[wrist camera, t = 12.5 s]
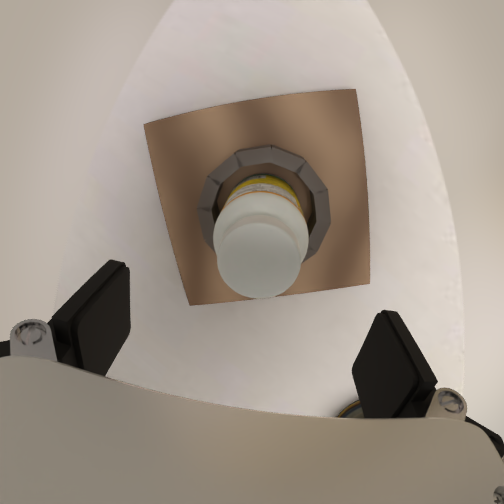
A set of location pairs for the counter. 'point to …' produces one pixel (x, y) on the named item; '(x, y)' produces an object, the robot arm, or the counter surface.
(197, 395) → the counter surface
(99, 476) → the robot arm
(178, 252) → the stand board
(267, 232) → the supplement bottle
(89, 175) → the counter surface
